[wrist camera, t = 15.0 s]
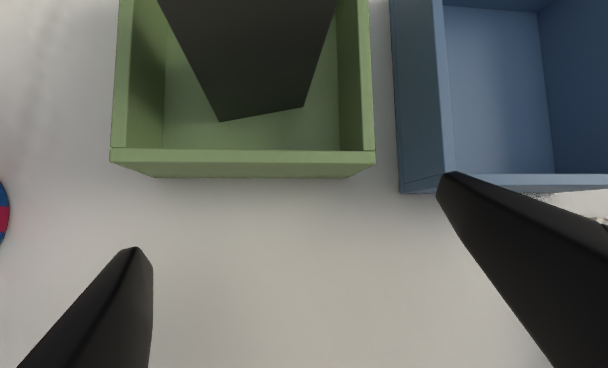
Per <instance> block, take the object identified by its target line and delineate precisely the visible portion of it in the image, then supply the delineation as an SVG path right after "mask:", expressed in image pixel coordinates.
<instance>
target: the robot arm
mask: <svg viewBox="0 0 608 368" xmlns="http://www.w3.org/2000/svg"><path fill="white" fill-rule="evenodd" d="M436 198H437V201H438V203H439V204H440V206H441V208H442V209H443V211H444V213H445V215H446V216H447V218H448V220H449V221H450V223H451V225H452V227H453V228H454V230H455V232H456V233H457V235H458V237H459V238H460V240H461V241H462V243H463V244H464V246H465V247H466V248H467V250H468V251H469V252H470V254H471V255H472V256H473V258H474V259H475V261H476V262H477V263H478V265H479V266H480V267H481V269H482V270H483V272H484V273H485V274H486V276H487V277H488V278H489V280H490V281H491V282H492V284H493V285H494V287H495V288H496V289H497V291H498V292H499V293H500V295H501V296H502V297H503V299H504V300H505V302H506V303H507V304H508V306H509V307H510V308H511V310H512V311H513V312H514V314H515V315H516V317H517V318H518V319H519V321H520V322H521V323H522V325H523V326H524V327H525V329H526V330H527V332H528V333H529V334H530V336H531V337H532V338H533V340H534V341H535V342H536V344H537V345H538V347H539V348H540V349H541V351H542V352H543V353H544V355H545V356H546V357H547V359H548V360H549V362H550V363H551V364H552V366H553V367H554V368H608V225H606V224H600V223H599V222H597V221H595V220H592V219H589V218H586V217H583V216H581V215H578V214H575V213H572V212H569V211H567V210H564V209H561V208H558V207H556V206H553V205H550V204H547V203H544V202H542V201H539V200H536V199H533V198H531V197H528V196H525V195H522V194H519V193H517V192H514V191H511V190H508V189H506V188H503V187H500V186H497V185H494V184H492V183H489V182H486V181H483V180H480V179H478V178H475V177H472V176H469V175H467V174H464V173H461V172H458V171H451V172H447V173H444V174H442V175H441V177H440V181H439V184H438V187H437V191H436ZM152 329H153V267H152V265H151V263H150V262H149V260H148V259H147V257H146V256H145V254H144V253H143V252H142V250H141V249H140V248H139V247H131V248H127V249H123V250H121V251H119V252H118V253H117V254H116V255H115V256H114V258H113V259H112V260H111V261H110V262H109V263H108V264H107V265H106V267H105V268H104V269H103V270H102V271H101V272H100V273H99V275H98V276H97V277H96V278H95V279H94V280H93V281H92V282H91V284H90V285H89V286H88V287H87V288H86V289H85V290H84V292H83V293H82V294H81V295H80V296H79V297H78V298H77V299H76V301H75V302H74V303H73V304H72V305H71V306H70V307H69V308H68V310H67V311H66V312H65V313H64V314H63V315H62V316H61V318H60V319H59V320H58V321H57V322H56V323H55V324H54V325H53V327H52V328H51V329H50V330H49V331H48V332H47V333H46V335H45V336H44V337H43V338H42V339H41V340H40V341H39V342H38V344H37V345H36V346H35V347H34V348H33V349H32V350H31V351H30V353H29V354H28V355H27V356H26V357H25V358H24V359H23V361H22V362H21V363H20V364H19V365H18V366H17V367H16V368H148V362H149V354H150V346H151V338H152Z"/></svg>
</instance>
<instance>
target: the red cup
mask: <svg viewBox="0 0 608 368" xmlns="http://www.w3.org/2000/svg"><path fill="white" fill-rule="evenodd" d="M8 219H9V203H8V199H7V195H6V192H5V190H4V188H3V186H2V184H1V182H0V242H1V241H2V239H3V237H4V234H5V231H6V228H7V225H8Z"/></svg>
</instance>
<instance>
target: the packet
mask: <svg viewBox="0 0 608 368" xmlns="http://www.w3.org/2000/svg"><path fill="white" fill-rule="evenodd" d="M157 2H158V4H159V6H160V8H161V10H162V12H163V14H164V16H165V18H166V20H167V22H168V24H169V26H170V28H171V29H172V31H173V33H174V35H175V37H176V39H177V41H178V43H179V45H180V47H181V49H182V51H183V53H184V55H185V57H186V59H187V61H188V63H189V64H190V66H191V68H192V70H193V72H194V74H195V76H196V78H197V80H198V82H199V84H200V86H201V88H202V90H203V92H204V94H205V96H206V98H207V100H208V101H209V103H210V105H211V107H212V109H213V111H214V113H215V115H216V117H217V119H218V121H219V122H225V121H230V120H236V119H241V118H246V117H252V116H257V115H263V114H268V113H274V112H279V111H284V110H290V109H295V108H301V107H304V104H305V101H306V98H307V95H308V91H309V88H310V85H311V82H312V79H313V76H314V73H315V70H316V67H317V64H318V61H319V58H320V55H321V52H322V49H323V45H324V42H325V39H326V36H327V33H328V30H329V27H330V24H331V21H332V18H333V15H334V12H335V9H336V6H337V2H338V0H157Z"/></svg>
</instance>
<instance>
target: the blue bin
mask: <svg viewBox="0 0 608 368" xmlns="http://www.w3.org/2000/svg"><path fill="white" fill-rule="evenodd" d="M389 4H390V22H391V40H392V58H393V76H394V93H395V111H396V129H397V147H398V165H399V183H400V193H401V194H436V191H437V187H438V184H439V181H440V177H441V175H442V174H444V173H447V172H451V171H458V172H461V173H464V174H467V175H469V176H472V177H475V178H478V179H480V180H483V181H486V182H489V183H492V184H494V185H497V186H500V187H503V188H506V189H508V190H511V191H514V192H517V193H559V192H572V191H584V190H596V189H608V0H389Z"/></svg>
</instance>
